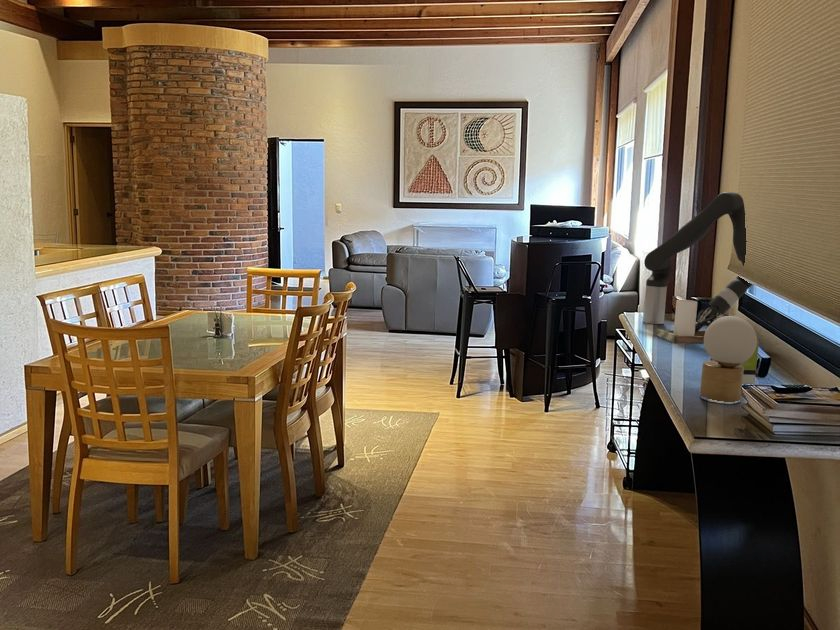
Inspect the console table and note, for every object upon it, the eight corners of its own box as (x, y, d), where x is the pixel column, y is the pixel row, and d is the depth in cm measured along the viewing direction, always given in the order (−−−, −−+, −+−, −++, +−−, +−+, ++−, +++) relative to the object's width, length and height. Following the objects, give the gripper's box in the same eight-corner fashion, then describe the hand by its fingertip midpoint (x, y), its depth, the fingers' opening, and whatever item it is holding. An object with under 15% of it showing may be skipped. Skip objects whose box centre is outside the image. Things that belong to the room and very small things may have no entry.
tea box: (707, 374, 265) (711, 330, 262) (737, 375, 264) (742, 331, 262) (723, 385, 250) (727, 339, 247) (755, 386, 249) (760, 340, 247)
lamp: (759, 409, 222) (769, 321, 219) (710, 408, 221) (719, 319, 217) (734, 394, 237) (742, 312, 233) (688, 394, 236) (696, 311, 232)
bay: (656, 335, 334) (657, 328, 333) (708, 336, 338) (709, 329, 338) (673, 342, 319) (674, 335, 319) (728, 342, 324) (729, 335, 323)
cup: (690, 338, 331) (694, 300, 329) (696, 341, 323) (700, 303, 321) (670, 337, 332) (674, 299, 329) (675, 340, 324) (679, 302, 321)
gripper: (710, 292, 334) (680, 321, 334) (727, 297, 321) (697, 326, 321) (720, 305, 336) (691, 333, 335) (738, 310, 323) (708, 339, 323)
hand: (694, 330), depth 328 cm, fingers closed
